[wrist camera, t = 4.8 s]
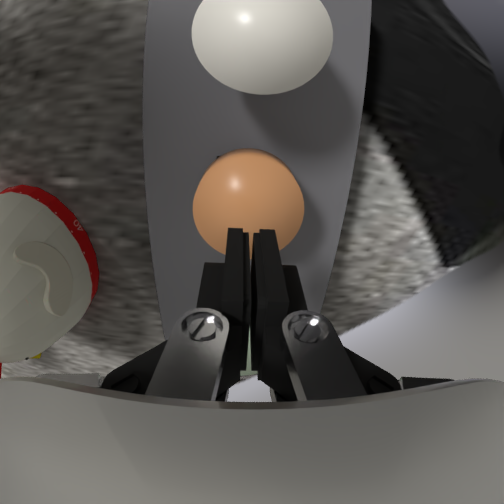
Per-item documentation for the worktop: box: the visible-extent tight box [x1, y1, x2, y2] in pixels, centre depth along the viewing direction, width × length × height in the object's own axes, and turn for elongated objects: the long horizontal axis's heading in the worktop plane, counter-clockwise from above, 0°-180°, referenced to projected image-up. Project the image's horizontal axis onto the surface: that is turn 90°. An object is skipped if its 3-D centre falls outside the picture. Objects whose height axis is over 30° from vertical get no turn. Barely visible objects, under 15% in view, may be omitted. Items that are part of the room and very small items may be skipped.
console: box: [143, 0, 371, 340], centre depth 18 cm, size 26×12×3 cm, turn 176°
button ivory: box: [192, 0, 333, 95], centre depth 11 cm, size 5×5×5 cm
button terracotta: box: [193, 148, 304, 259], centre depth 16 cm, size 5×5×5 cm
